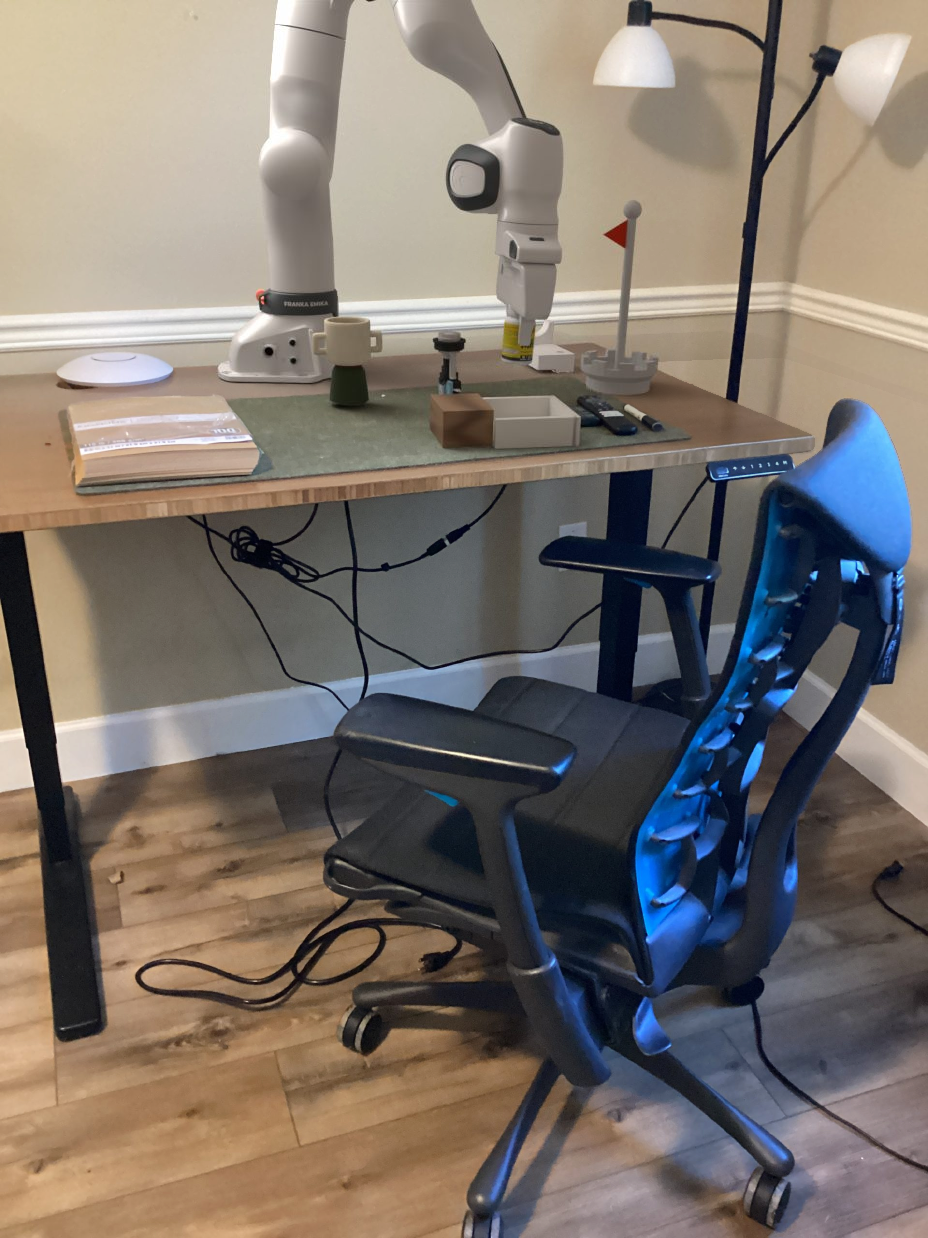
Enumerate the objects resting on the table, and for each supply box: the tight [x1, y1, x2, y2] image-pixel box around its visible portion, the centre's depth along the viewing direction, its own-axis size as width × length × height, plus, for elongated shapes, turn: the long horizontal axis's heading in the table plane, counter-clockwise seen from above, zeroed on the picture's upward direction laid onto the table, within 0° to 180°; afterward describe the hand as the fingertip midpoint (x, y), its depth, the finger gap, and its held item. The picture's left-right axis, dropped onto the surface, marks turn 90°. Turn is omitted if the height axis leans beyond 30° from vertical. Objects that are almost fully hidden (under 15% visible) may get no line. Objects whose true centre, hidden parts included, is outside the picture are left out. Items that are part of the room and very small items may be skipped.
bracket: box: [528, 319, 576, 373], centre depth 189 cm, size 13×7×8 cm, turn 18°
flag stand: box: [580, 199, 659, 396], centre depth 169 cm, size 13×13×30 cm
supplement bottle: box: [500, 305, 537, 366], centre depth 152 cm, size 5×5×8 cm
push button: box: [432, 330, 467, 394], centre depth 164 cm, size 7×5×10 cm
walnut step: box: [429, 392, 494, 449], centre depth 143 cm, size 7×10×5 cm
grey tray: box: [482, 395, 582, 450], centre depth 145 cm, size 12×13×4 cm
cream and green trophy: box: [312, 316, 383, 406], centre depth 157 cm, size 11×7×13 cm, turn 109°
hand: (518, 340), depth 153 cm, fingers closed on supplement bottle, 5 cm apart
